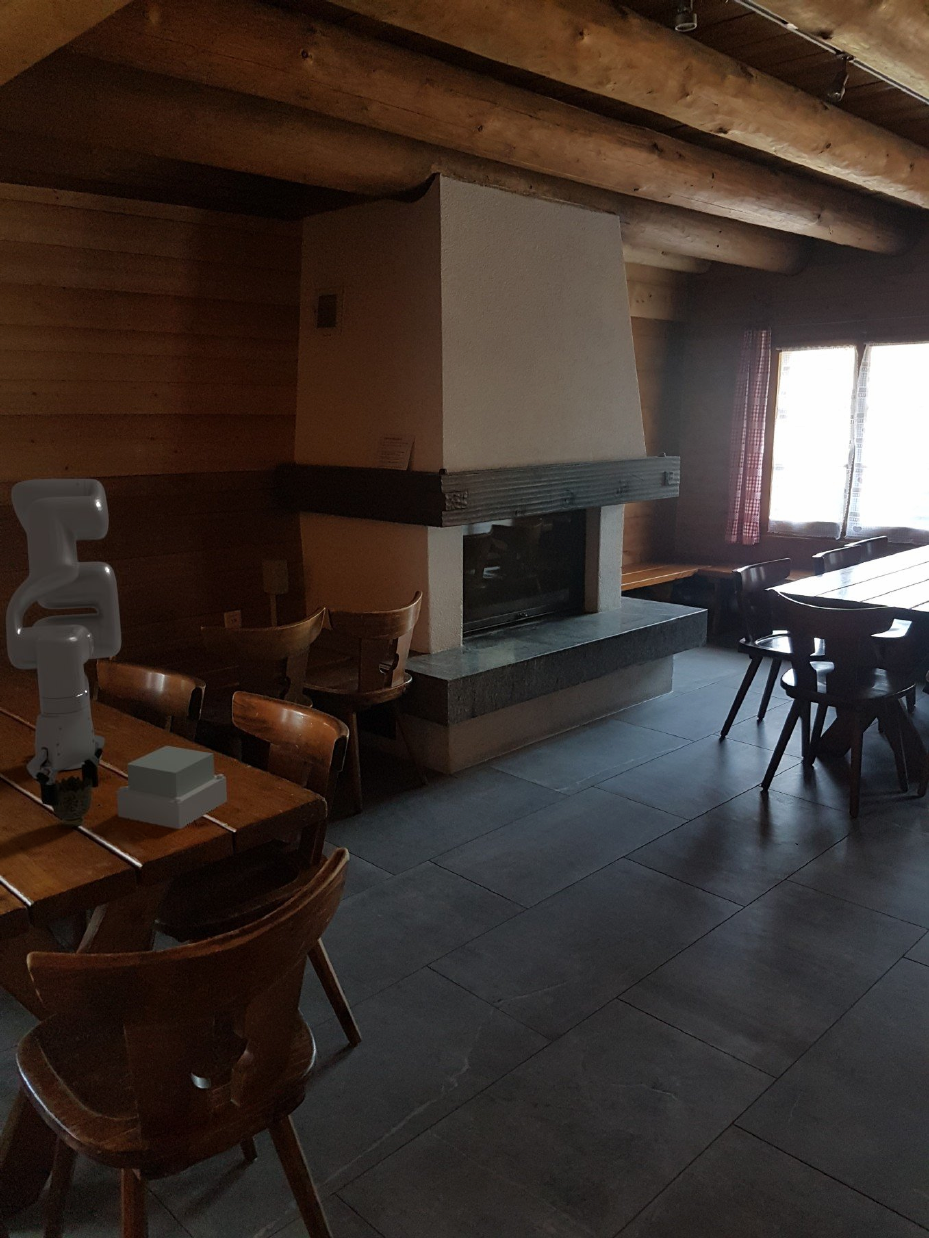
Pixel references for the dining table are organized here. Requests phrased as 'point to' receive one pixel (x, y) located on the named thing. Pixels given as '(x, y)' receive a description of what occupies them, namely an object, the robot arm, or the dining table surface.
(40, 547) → the robot arm
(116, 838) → the dining table surface
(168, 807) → the grey stacking block
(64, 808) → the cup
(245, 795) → the dining table surface
